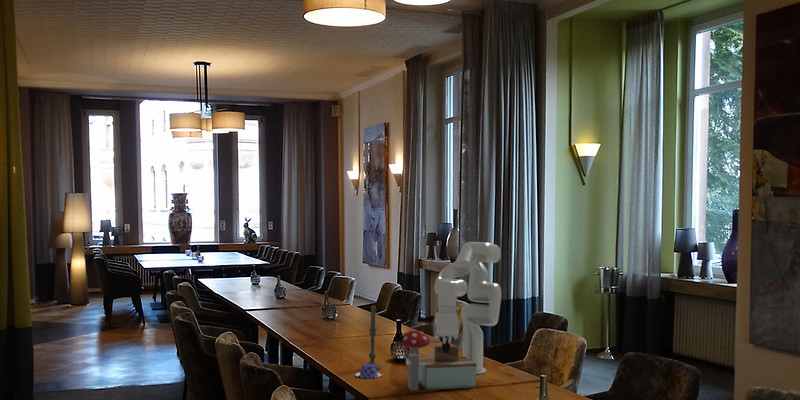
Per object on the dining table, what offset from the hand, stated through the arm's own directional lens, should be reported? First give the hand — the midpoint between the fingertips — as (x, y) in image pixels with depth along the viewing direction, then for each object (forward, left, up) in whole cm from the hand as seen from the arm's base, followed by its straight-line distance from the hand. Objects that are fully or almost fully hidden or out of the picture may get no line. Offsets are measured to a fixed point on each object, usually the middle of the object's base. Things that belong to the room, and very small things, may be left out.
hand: (445, 352), depth 315 cm
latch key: (0, -11, -5) cm, 12 cm away
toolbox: (-5, -1, -15) cm, 16 cm away
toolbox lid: (-5, +2, -7) cm, 9 cm away
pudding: (-27, -28, -16) cm, 42 cm away
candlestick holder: (-42, -23, -15) cm, 51 cm away
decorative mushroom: (-57, +2, -15) cm, 59 cm away
